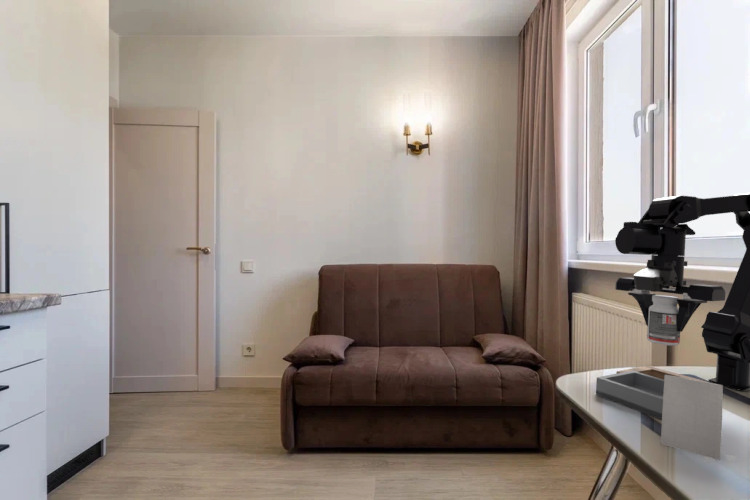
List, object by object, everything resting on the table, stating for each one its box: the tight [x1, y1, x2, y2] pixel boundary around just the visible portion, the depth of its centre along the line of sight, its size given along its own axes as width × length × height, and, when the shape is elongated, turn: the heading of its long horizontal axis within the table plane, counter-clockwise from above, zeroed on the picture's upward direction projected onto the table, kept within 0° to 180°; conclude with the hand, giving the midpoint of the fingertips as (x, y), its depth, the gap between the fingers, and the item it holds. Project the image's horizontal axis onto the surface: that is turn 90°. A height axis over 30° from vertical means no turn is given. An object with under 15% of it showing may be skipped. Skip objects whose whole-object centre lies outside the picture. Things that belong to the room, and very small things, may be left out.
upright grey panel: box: [660, 375, 724, 460], centre depth 60 cm, size 4×7×10 cm, turn 53°
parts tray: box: [595, 371, 664, 421], centre depth 77 cm, size 12×12×4 cm
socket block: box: [615, 365, 710, 383], centre depth 87 cm, size 12×12×2 cm
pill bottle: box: [646, 294, 681, 346], centre depth 86 cm, size 6×6×10 cm
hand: (663, 328), depth 86 cm, fingers closed on pill bottle, 6 cm apart
